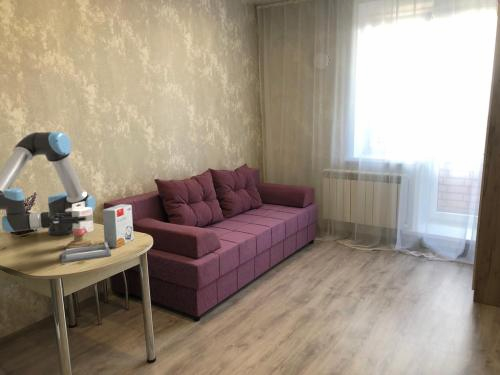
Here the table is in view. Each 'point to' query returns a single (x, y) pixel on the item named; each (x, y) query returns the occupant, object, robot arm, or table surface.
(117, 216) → the hard drive box
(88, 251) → the rail cradle
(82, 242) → the candle holder
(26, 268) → the table surface
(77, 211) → the ink cartridge box
